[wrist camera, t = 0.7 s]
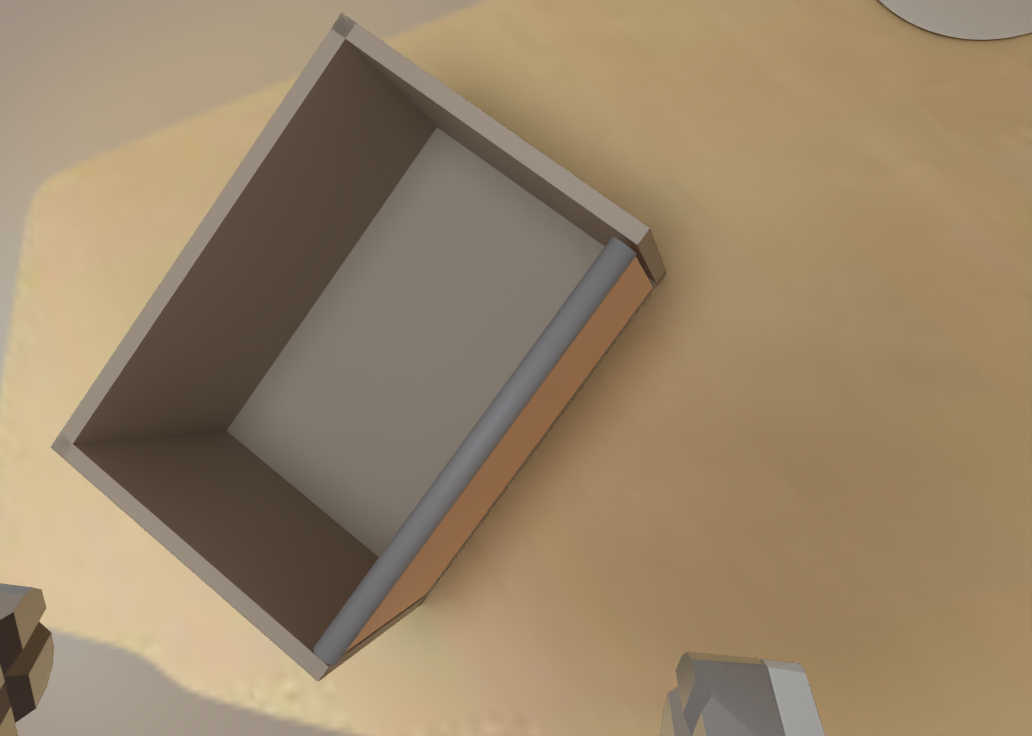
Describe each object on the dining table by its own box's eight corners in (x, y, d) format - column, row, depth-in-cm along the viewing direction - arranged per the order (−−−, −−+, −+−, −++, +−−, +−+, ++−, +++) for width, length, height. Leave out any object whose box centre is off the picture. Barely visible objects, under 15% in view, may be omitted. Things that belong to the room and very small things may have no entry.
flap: (637, 276, 49) (610, 234, 36) (655, 289, 49) (635, 252, 36) (412, 582, 51) (308, 649, 38) (429, 595, 51) (330, 668, 38)
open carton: (437, 110, 53) (341, 12, 39) (666, 272, 50) (649, 228, 36) (214, 432, 55) (50, 447, 41) (420, 604, 52) (318, 681, 38)
